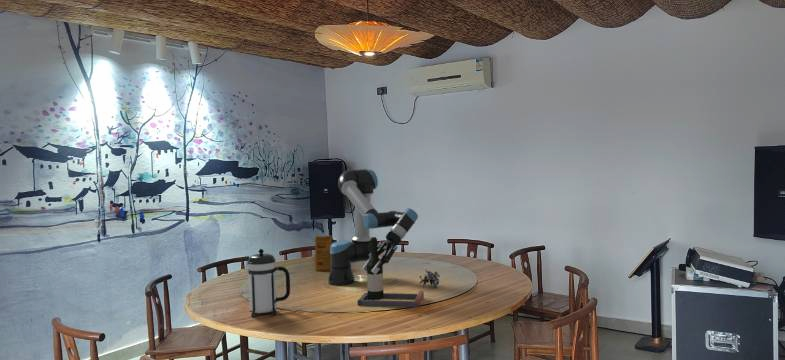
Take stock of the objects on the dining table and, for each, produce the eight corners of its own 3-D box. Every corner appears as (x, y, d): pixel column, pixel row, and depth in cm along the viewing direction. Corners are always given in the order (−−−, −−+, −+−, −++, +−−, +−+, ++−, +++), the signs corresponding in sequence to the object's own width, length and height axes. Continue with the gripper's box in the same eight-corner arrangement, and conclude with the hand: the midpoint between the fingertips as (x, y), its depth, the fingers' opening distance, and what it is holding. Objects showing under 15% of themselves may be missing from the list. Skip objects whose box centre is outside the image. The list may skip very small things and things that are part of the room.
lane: (357, 305, 255) (357, 297, 254) (365, 297, 269) (365, 289, 269) (419, 307, 249) (419, 298, 249) (423, 298, 264) (423, 290, 263)
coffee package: (315, 268, 347) (314, 234, 346) (334, 267, 347) (333, 234, 346) (313, 271, 337) (312, 237, 336) (332, 270, 337) (331, 236, 336)
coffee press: (264, 319, 236) (262, 252, 234) (239, 315, 244) (237, 250, 243) (291, 310, 250) (289, 246, 249) (267, 305, 259) (265, 244, 258)
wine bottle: (386, 296, 263) (384, 236, 262) (380, 300, 255) (378, 238, 254) (370, 295, 266) (369, 235, 265) (364, 299, 258) (362, 238, 257)
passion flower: (436, 297, 286) (440, 283, 278) (417, 294, 286) (420, 279, 279) (438, 282, 294) (441, 267, 287) (418, 278, 295) (421, 264, 288)
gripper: (412, 242, 259) (384, 279, 251) (389, 237, 276) (363, 272, 269) (402, 232, 256) (374, 270, 248) (380, 228, 273) (353, 263, 266)
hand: (368, 271), depth 258 cm, fingers closed on wine bottle, 8 cm apart
